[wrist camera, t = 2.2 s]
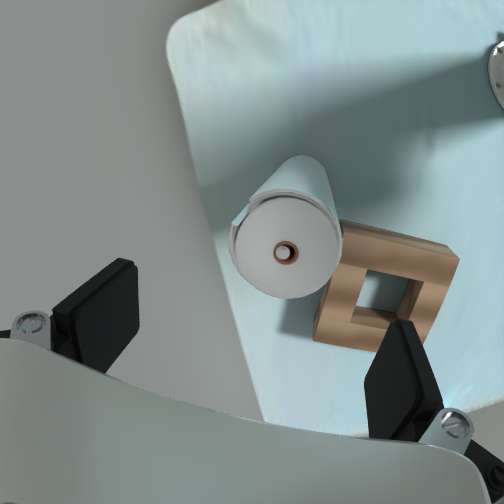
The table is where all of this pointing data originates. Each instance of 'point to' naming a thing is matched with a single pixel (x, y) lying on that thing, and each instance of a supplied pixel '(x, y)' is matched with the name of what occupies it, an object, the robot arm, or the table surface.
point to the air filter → (288, 232)
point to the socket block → (391, 262)
